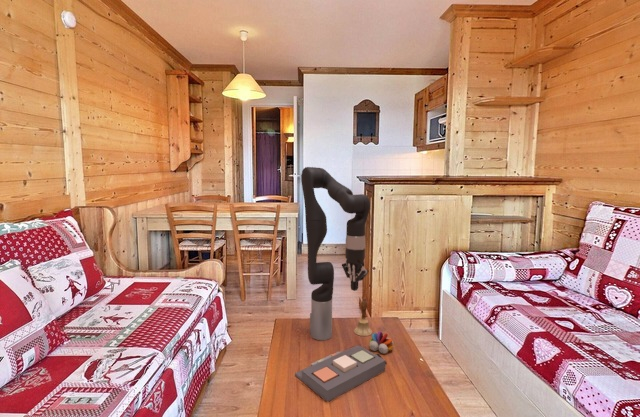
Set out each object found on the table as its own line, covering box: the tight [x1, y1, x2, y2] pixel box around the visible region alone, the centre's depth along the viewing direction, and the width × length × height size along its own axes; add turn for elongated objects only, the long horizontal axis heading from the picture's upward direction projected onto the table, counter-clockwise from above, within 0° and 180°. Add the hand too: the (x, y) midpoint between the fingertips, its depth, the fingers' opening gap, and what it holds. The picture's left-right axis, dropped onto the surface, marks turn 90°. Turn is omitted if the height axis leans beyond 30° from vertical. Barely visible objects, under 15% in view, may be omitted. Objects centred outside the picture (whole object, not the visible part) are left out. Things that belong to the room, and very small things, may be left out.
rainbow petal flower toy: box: [368, 330, 394, 355], centre depth 144 cm, size 8×10×7 cm
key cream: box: [333, 355, 357, 373], centre depth 125 cm, size 6×6×2 cm
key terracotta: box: [313, 367, 338, 383], centre depth 119 cm, size 6×6×2 cm
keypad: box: [294, 344, 387, 403], centre depth 127 cm, size 18×28×4 cm, turn 129°
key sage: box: [351, 350, 374, 364], centre depth 131 cm, size 6×6×2 cm
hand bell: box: [353, 297, 373, 337], centre depth 157 cm, size 8×8×16 cm
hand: (354, 289), depth 136 cm, fingers closed
